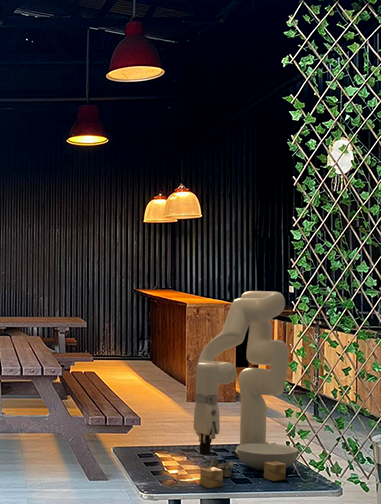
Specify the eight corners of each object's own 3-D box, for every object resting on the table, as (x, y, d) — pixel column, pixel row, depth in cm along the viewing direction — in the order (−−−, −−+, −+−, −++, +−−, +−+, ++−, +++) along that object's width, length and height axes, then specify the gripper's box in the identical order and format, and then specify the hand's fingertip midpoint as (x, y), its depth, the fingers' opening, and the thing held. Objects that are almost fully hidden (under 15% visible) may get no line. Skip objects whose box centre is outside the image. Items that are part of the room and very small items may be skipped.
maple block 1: (213, 483, 264) (214, 466, 264) (222, 486, 259) (222, 470, 259) (200, 484, 261) (200, 468, 261) (208, 488, 257) (208, 471, 257)
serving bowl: (307, 467, 292) (307, 447, 292) (282, 477, 274) (282, 456, 274) (253, 460, 302) (253, 440, 302) (225, 469, 284) (225, 448, 284)
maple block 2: (276, 476, 276) (276, 460, 276) (285, 479, 271) (285, 463, 272) (263, 477, 273) (264, 462, 273) (272, 481, 269) (273, 465, 269)
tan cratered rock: (210, 470, 283) (210, 457, 283) (233, 471, 282) (233, 458, 283) (208, 476, 272) (208, 463, 273) (231, 477, 272) (232, 464, 272)
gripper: (227, 402, 283) (226, 457, 282) (204, 396, 295) (202, 450, 294) (208, 402, 279) (206, 459, 278) (185, 397, 292) (184, 451, 291)
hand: (204, 454), depth 286 cm, fingers closed
